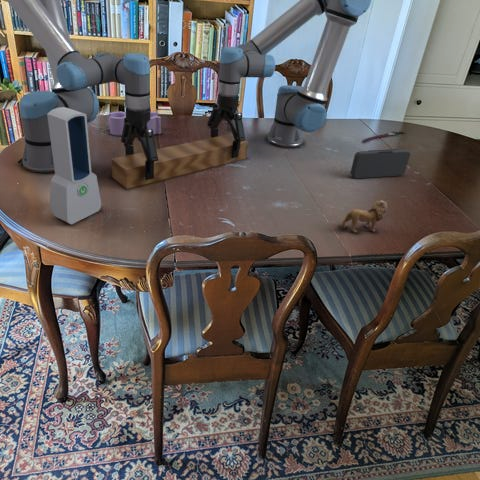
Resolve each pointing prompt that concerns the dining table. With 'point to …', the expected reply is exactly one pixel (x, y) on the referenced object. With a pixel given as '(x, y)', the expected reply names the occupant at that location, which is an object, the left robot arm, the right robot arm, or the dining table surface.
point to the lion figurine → (366, 215)
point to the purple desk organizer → (118, 117)
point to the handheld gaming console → (380, 163)
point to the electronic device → (71, 167)
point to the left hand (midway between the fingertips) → (139, 171)
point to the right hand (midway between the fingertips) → (224, 151)
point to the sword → (382, 136)
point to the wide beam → (177, 160)
